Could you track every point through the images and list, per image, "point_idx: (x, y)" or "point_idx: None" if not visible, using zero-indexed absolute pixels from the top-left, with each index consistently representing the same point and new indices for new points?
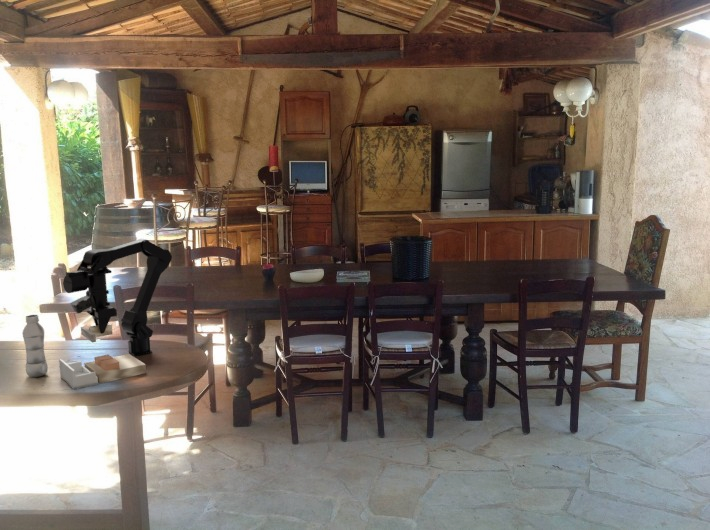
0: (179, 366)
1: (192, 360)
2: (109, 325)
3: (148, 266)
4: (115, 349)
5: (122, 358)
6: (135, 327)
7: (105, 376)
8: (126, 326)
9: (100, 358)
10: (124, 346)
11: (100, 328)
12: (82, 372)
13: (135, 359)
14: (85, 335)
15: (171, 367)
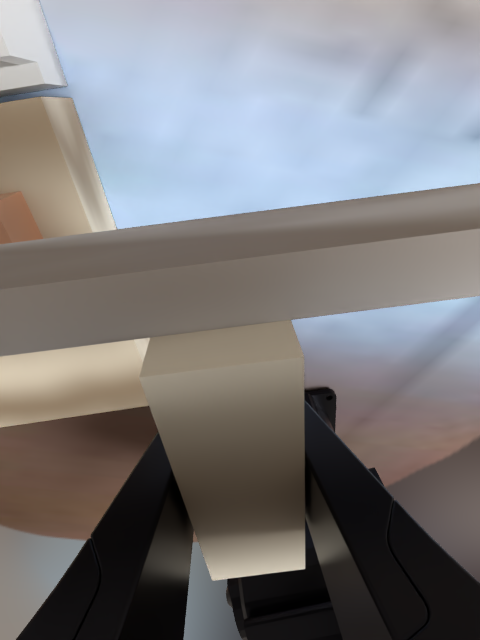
0: (26, 494)
1: (87, 525)
2: (206, 558)
3: None
4: (425, 347)
5: (77, 366)
6: (238, 587)
7: None
8: (315, 556)
9: None
10: (435, 385)
11: (134, 477)
12: (3, 63)
13: (32, 414)
14: (269, 218)
15: (20, 476)
